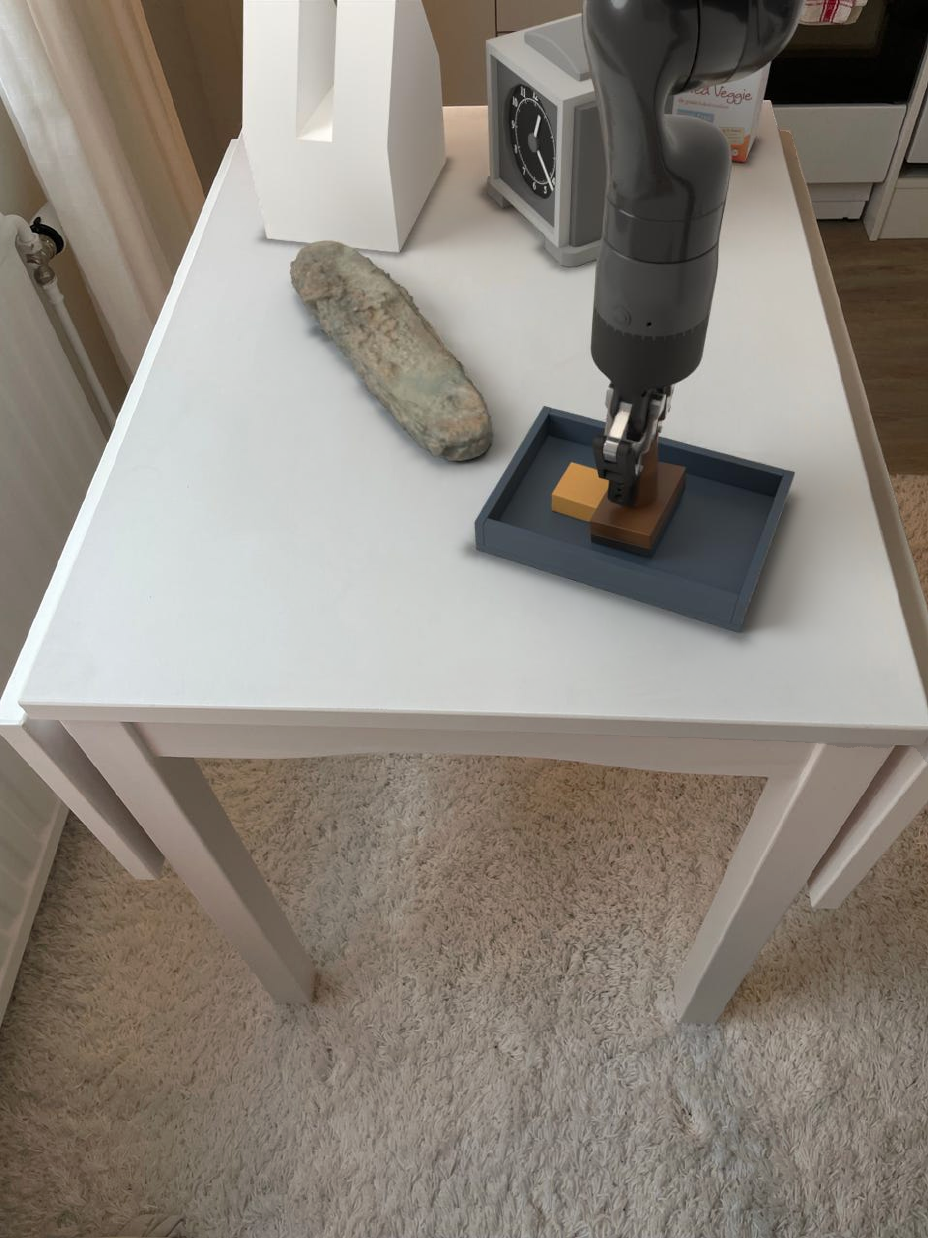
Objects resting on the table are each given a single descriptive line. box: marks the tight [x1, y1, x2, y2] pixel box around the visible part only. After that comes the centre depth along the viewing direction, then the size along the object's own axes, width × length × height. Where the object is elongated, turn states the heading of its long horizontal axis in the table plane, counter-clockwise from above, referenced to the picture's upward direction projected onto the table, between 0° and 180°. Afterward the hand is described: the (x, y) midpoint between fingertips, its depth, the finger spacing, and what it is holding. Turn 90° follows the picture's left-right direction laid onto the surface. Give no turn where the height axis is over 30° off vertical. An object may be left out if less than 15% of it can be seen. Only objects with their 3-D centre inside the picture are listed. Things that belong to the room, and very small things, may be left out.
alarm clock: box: [485, 12, 679, 268], centre depth 99 cm, size 18×13×18 cm
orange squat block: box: [552, 462, 609, 522], centre depth 78 cm, size 4×4×2 cm
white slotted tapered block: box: [241, 0, 447, 254], centre depth 100 cm, size 19×15×25 cm
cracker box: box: [676, 61, 772, 163], centre depth 105 cm, size 14×6×21 cm, turn 68°
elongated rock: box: [289, 240, 494, 462], centre depth 91 cm, size 35×5×10 cm
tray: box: [473, 405, 796, 633], centre depth 77 cm, size 22×15×3 cm
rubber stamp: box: [590, 429, 686, 557], centre depth 74 cm, size 5×8×8 cm, turn 152°
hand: (629, 485), depth 75 cm, fingers closed on rubber stamp, 3 cm apart
